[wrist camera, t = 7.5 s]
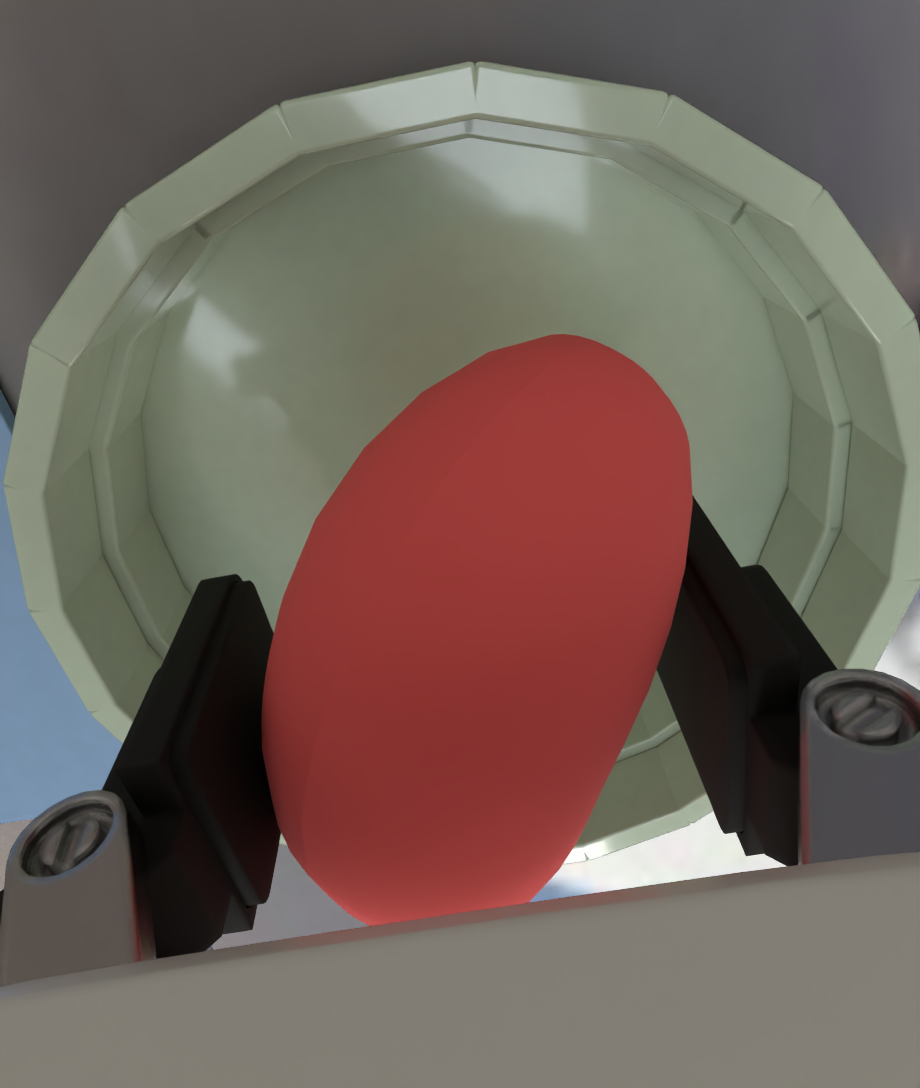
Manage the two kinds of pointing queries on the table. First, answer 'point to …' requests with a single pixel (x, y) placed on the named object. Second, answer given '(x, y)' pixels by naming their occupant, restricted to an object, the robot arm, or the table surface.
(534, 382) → the red oval piece
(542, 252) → the bowl
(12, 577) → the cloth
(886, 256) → the table surface
